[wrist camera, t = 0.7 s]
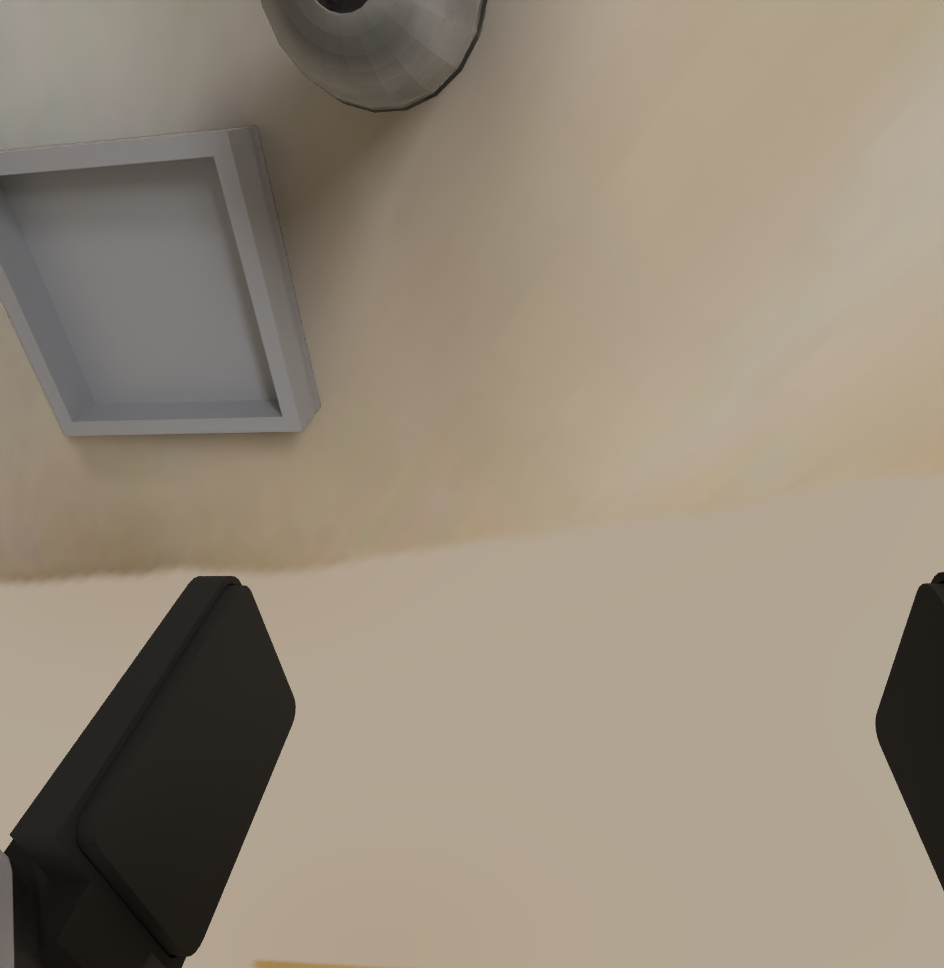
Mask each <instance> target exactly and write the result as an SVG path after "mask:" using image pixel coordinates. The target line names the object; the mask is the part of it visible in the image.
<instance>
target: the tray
mask: <svg viewBox="0 0 944 968" xmlns="http://www.w3.org/2000/svg"><path fill="white" fill-rule="evenodd" d="M0 299H1V301H2V303H3V305H4V307H5V309H6V311H7V314H8V316H9V318H10V320H11V322H12V324H13V326H14V329H15V331H16V333H17V335H18V337H19V339H20V342H21V344H22V346H23V348H24V350H25V352H26V354H27V357H28V359H29V361H30V363H31V365H32V367H33V370H34V372H35V374H36V376H37V378H38V380H39V382H40V385H41V387H42V389H43V391H44V393H45V395H46V397H47V400H48V402H49V404H50V406H51V408H52V410H53V413H54V415H55V417H56V419H57V421H58V423H59V425H60V428H61V430H62V432H63V434H64V436H99V435H149V434H198V433H248V432H298V431H303V430H304V428H305V427H306V425H307V424H308V423H309V421H310V420H311V419H312V417H313V416H314V415H315V413H316V412H317V411H318V409H319V408H320V407H321V406H320V401H319V397H318V392H317V388H316V384H315V379H314V375H313V371H312V366H311V362H310V357H309V353H308V349H307V344H306V340H305V335H304V331H303V327H302V322H301V318H300V314H299V309H298V305H297V300H296V296H295V292H294V287H293V283H292V278H291V274H290V270H289V265H288V261H287V257H286V252H285V248H284V243H283V239H282V235H281V230H280V226H279V221H278V217H277V213H276V208H275V204H274V200H273V195H272V191H271V186H270V182H269V178H268V173H267V169H266V164H265V160H264V156H263V151H262V147H261V143H260V138H259V134H258V129H257V126H250V127H240V128H229V129H219V130H208V131H198V132H188V133H177V134H167V135H156V136H146V137H135V138H125V139H115V140H104V141H94V142H83V143H73V144H62V145H52V146H42V147H31V148H21V149H10V150H0Z"/></svg>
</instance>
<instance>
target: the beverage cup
mask: <svg viewBox="0 0 944 968" xmlns="http://www.w3.org/2000/svg"><path fill="white" fill-rule="evenodd" d="M261 2H262V6H263V9H264V11H265V13H266V16H267V18H268V20H269V22H270V24H271V27H272V29H273V31H274V33H275V35H276V38H277V40H278V42H279V44H280V46H281V47H282V48H283V50H284V51H285V52H286V53H287V55H288V56H289V57H290V58H291V59H292V61H293V62H294V63H295V64H296V66H297V67H298V68H299V69H300V71H301V72H302V73H303V74H304V75H305V76H306V77H307V78H308V79H310V80H311V81H313V82H314V83H315V84H316V85H318V86H319V87H321V88H322V89H324V90H325V91H326V92H328V93H329V94H331V95H332V96H334V97H335V98H336V99H338V100H339V101H341V102H342V103H344V104H348V105H351V106H354V107H358V108H361V109H365V110H368V111H371V112H388V111H401V110H408V109H410V108H412V107H414V106H416V105H418V104H421V103H423V102H425V101H427V100H429V99H431V98H433V97H435V96H437V95H438V94H439V93H440V92H441V91H442V90H443V89H444V88H445V87H446V86H447V85H448V84H449V83H450V82H451V81H452V80H453V79H454V78H455V77H456V76H457V75H458V74H459V73H460V72H461V71H462V69H463V67H464V65H465V63H466V61H467V59H468V57H469V55H470V54H471V52H472V50H473V48H474V46H475V44H476V42H477V40H478V38H479V36H480V34H481V31H482V27H483V22H484V17H485V12H486V4H487V0H261Z"/></svg>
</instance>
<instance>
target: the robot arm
mask: <svg viewBox="0 0 944 968" xmlns="http://www.w3.org/2000/svg"><path fill="white" fill-rule="evenodd" d="M295 708H296V707H295V699H294V696H293V694H292V691H291V689H290V686H289V684H288V682H287V679H286V676H285V674H284V671H283V669H282V666H281V664H280V661H279V659H278V656H277V654H276V652H275V649H274V647H273V644H272V642H271V639H270V637H269V634H268V632H267V629H266V627H265V624H264V622H263V619H262V617H261V614H260V612H259V609H258V607H257V605H256V602H255V600H254V597H253V595H252V592H251V590H250V589H249V588H248V587H247V586H242V584H241V583H240V581H239V580H238V579H237V578H236V577H234V576H198V577H196V578H194V579H193V580H192V581H191V582H190V583H189V584H188V585H187V587H186V588H185V590H184V591H183V592H182V594H181V595H180V597H179V598H178V599H177V601H176V602H175V604H174V605H173V607H172V608H171V609H170V611H169V612H168V613H167V615H166V616H165V618H164V619H163V620H162V622H161V623H160V625H159V626H158V628H157V629H156V630H155V632H154V633H153V635H152V636H151V637H150V639H149V640H148V641H147V643H146V645H145V646H144V647H143V649H142V650H141V652H140V653H139V654H138V656H137V657H136V658H135V660H134V661H133V663H132V664H131V665H130V667H129V668H128V670H127V671H126V672H125V674H124V675H123V677H122V678H121V679H120V681H119V682H118V684H117V685H116V686H115V688H114V689H113V691H112V692H111V694H110V695H109V696H108V698H107V699H106V700H105V702H104V703H103V705H102V706H101V707H100V709H99V710H98V712H97V713H96V715H95V716H94V717H93V719H92V720H91V721H90V723H89V724H88V726H87V727H86V728H85V730H84V731H83V733H82V734H81V735H80V737H79V738H78V740H77V741H76V742H75V744H74V745H73V747H72V748H71V749H70V751H69V752H68V754H67V755H66V756H65V758H64V759H63V761H62V762H61V764H60V765H59V766H58V768H57V769H56V770H55V772H54V773H53V775H52V776H51V778H50V779H49V780H48V782H47V783H46V785H45V786H44V787H43V789H42V790H41V792H40V793H39V794H38V796H37V797H36V799H35V800H34V801H33V803H32V804H31V805H30V807H29V808H28V810H27V811H26V812H25V814H24V815H23V817H22V818H21V819H20V821H19V822H18V824H17V825H16V826H15V828H14V829H13V831H12V832H11V833H10V836H11V837H12V838H13V840H12V842H11V843H10V845H9V846H8V847H7V849H6V850H5V852H4V853H3V852H2V851H1V850H0V968H182V965H183V963H184V961H185V958H186V957H188V956H191V955H193V954H194V953H195V952H196V951H197V949H198V947H200V945H201V943H202V941H203V939H204V937H205V934H206V931H207V929H208V927H209V924H210V922H211V920H212V917H213V915H214V912H215V910H216V908H217V905H218V902H219V900H220V898H221V895H222V893H223V890H224V888H225V886H226V883H227V881H228V879H229V876H230V873H231V871H232V869H233V866H234V864H235V862H236V859H237V857H238V854H239V852H240V849H241V847H242V845H243V842H244V840H245V837H246V835H247V832H248V830H249V828H250V825H251V823H252V820H253V818H254V816H255V813H256V811H257V808H258V806H259V804H260V801H261V799H262V796H263V794H264V792H265V789H266V787H267V784H268V782H269V779H270V777H271V775H272V772H273V770H274V767H275V765H276V763H277V760H278V758H279V755H280V753H281V750H282V748H283V746H284V743H285V741H286V738H287V736H288V734H289V731H290V729H291V726H292V724H293V721H294V716H295ZM876 733H877V737H878V740H879V743H880V746H881V748H882V751H883V753H884V755H885V757H886V760H887V762H888V764H889V767H890V769H891V771H892V773H893V775H894V778H895V780H896V782H897V785H898V787H899V790H900V792H901V794H902V796H903V799H904V801H905V803H906V806H907V808H908V810H909V812H910V815H911V817H912V819H913V821H914V824H915V826H916V828H917V831H918V833H919V835H920V838H921V840H922V842H923V844H924V847H925V849H926V851H927V854H928V856H929V858H930V860H931V863H932V865H933V867H934V870H935V872H936V874H937V876H938V879H939V881H940V883H941V886H942V888H943V890H944V572H941V573H938V574H937V575H936V576H934V578H933V580H932V582H931V583H929V584H928V583H927V584H922V585H921V586H920V587H919V589H918V591H917V593H916V596H915V600H914V602H913V605H912V609H911V611H910V614H909V617H908V620H907V624H906V627H905V629H904V632H903V636H902V639H901V642H900V645H899V648H898V651H897V654H896V657H895V660H894V663H893V666H892V669H891V672H890V675H889V678H888V681H887V684H886V687H885V690H884V693H883V696H882V699H881V702H880V705H879V708H878V711H877V714H876Z"/></svg>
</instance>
